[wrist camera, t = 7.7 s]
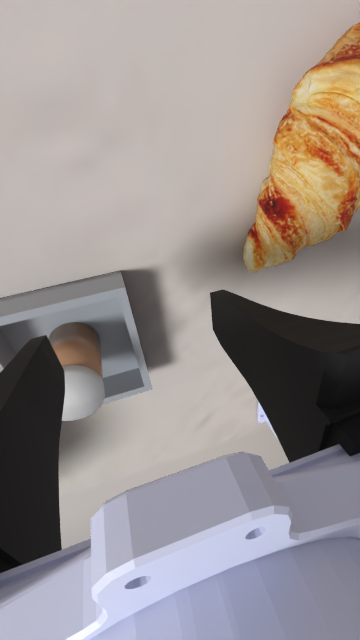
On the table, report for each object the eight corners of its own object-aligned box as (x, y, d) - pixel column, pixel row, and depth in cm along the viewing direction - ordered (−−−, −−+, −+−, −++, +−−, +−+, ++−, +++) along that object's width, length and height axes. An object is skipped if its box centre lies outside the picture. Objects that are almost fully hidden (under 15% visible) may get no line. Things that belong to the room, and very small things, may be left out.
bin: (146, 366, 26) (152, 389, 24) (38, 398, 25) (32, 425, 22) (120, 270, 21) (125, 286, 18) (-22, 303, 19) (-38, 326, 17)
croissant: (244, 262, 28) (312, 310, 24) (187, 233, 20) (275, 298, 16) (416, 17, 20) (554, 28, 16) (436, -191, 12) (718, -267, 8)
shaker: (106, 356, 24) (111, 410, 19) (57, 368, 23) (49, 427, 18) (93, 316, 22) (95, 366, 17) (38, 328, 21) (23, 384, 16)
